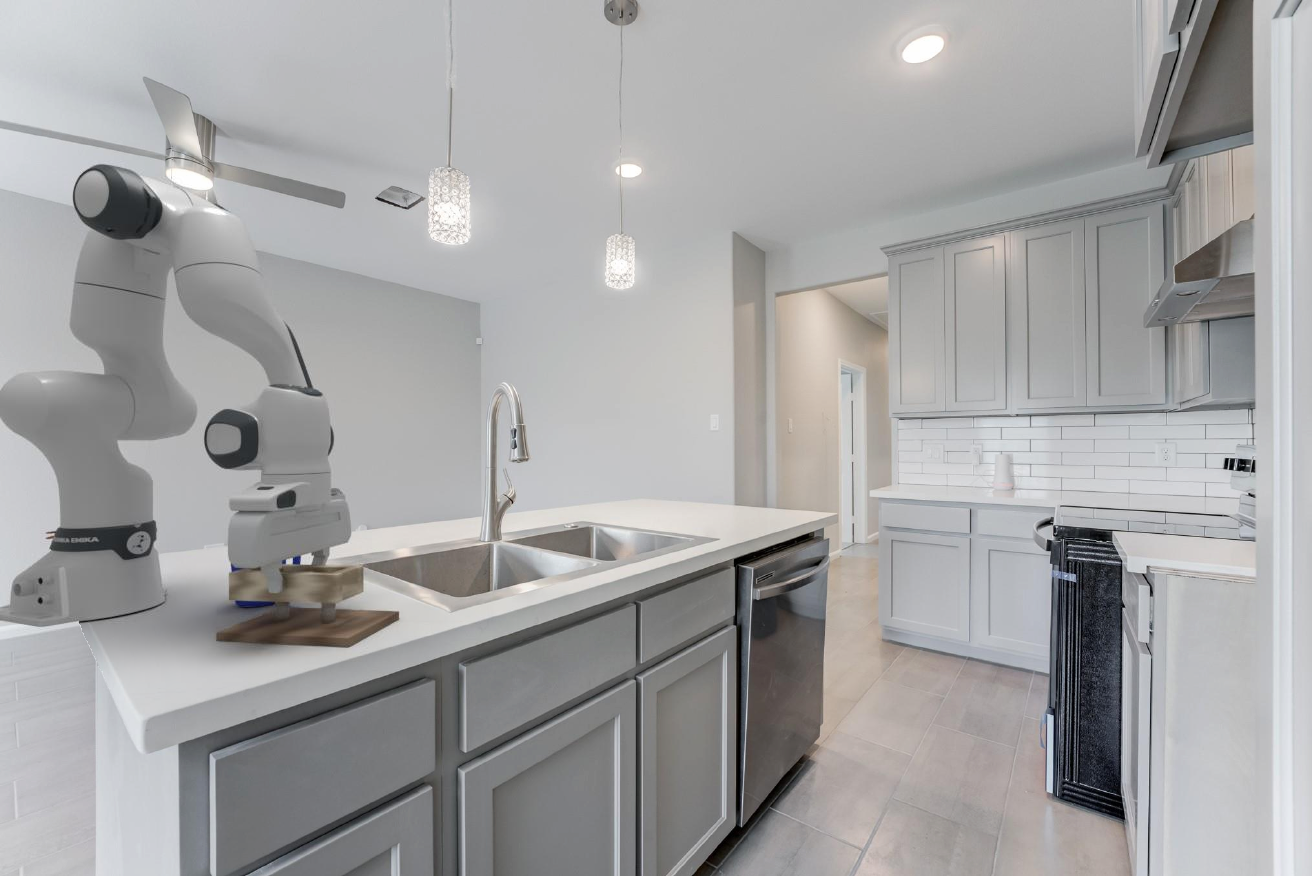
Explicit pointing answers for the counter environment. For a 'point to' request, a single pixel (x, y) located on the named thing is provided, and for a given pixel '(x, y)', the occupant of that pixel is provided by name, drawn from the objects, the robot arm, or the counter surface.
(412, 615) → the counter surface
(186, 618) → the counter surface
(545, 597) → the counter surface
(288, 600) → the two-compartment stone tray
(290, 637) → the board
